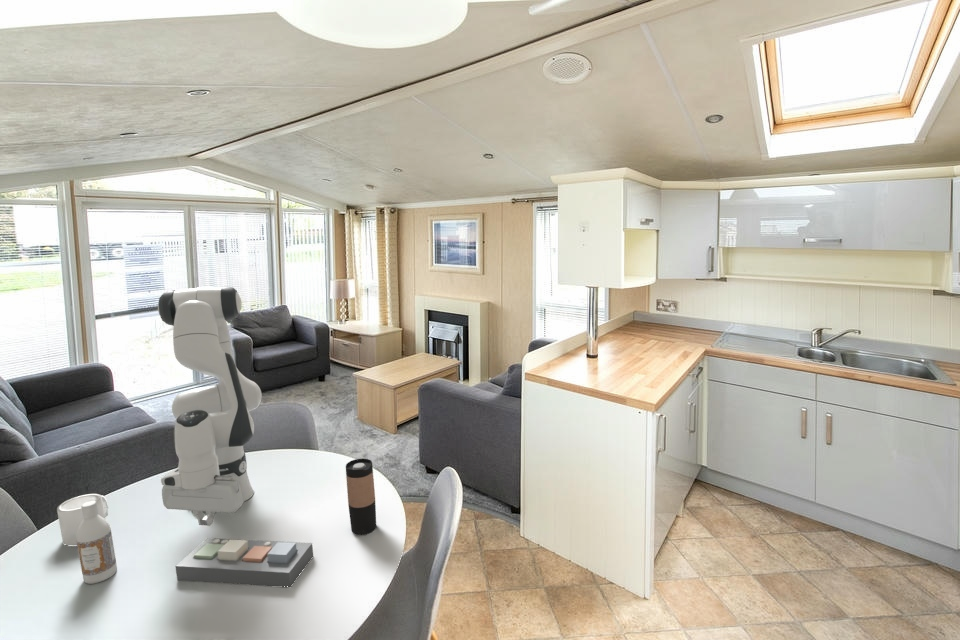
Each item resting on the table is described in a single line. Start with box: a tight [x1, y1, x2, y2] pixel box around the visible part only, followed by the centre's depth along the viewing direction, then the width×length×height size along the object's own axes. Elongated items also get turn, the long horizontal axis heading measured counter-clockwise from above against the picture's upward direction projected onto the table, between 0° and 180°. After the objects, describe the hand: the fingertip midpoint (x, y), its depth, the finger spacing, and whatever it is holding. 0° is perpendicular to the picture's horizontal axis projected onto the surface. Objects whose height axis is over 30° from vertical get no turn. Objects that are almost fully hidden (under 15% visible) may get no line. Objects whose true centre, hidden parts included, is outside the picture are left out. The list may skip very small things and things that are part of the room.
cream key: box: [218, 539, 248, 561], centre depth 128 cm, size 5×5×4 cm
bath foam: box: [76, 501, 118, 585], centre depth 126 cm, size 7×7×20 cm
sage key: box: [194, 543, 224, 560], centre depth 129 cm, size 5×5×4 cm
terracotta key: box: [243, 546, 272, 562], centre depth 127 cm, size 5×5×4 cm
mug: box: [56, 493, 109, 545], centre depth 146 cm, size 14×10×11 cm
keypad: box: [175, 537, 314, 588], centre depth 128 cm, size 30×12×4 cm, turn 82°
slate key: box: [267, 541, 297, 564], centre depth 126 cm, size 5×5×4 cm
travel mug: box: [345, 458, 377, 536], centre depth 143 cm, size 8×8×20 cm
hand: (206, 524), depth 128 cm, fingers closed
